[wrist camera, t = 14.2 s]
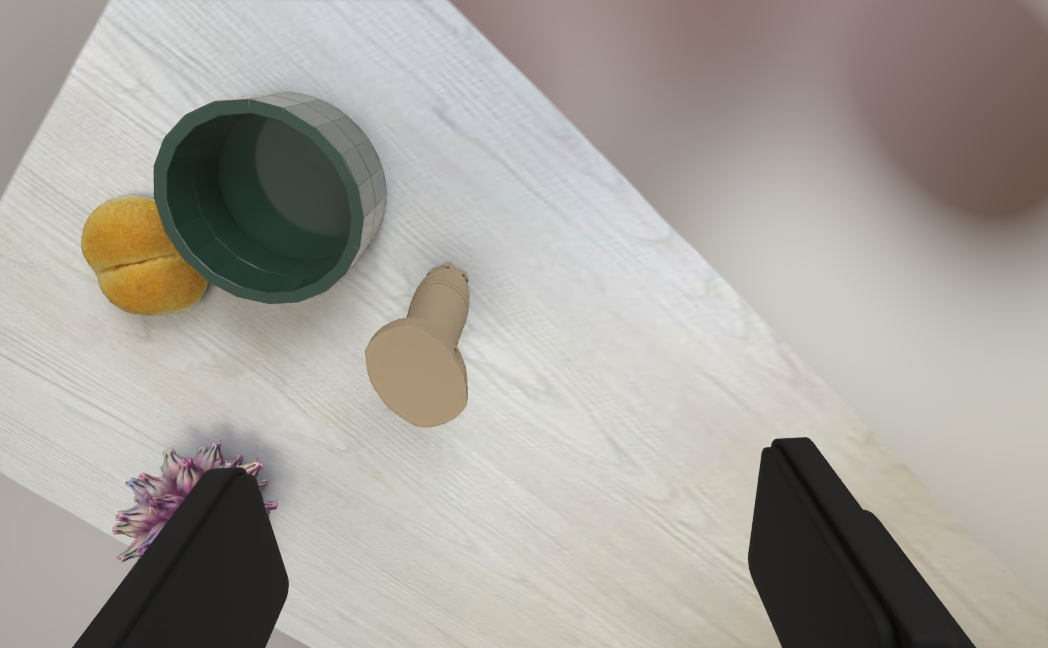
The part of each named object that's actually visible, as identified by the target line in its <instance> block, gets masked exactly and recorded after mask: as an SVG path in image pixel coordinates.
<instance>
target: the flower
mask: <svg viewBox="0 0 1048 648" xmlns="http://www.w3.org/2000/svg"><path fill="white" fill-rule="evenodd" d="M220 446H221V440H220V441H218V442H216V443H215V442H213V443H212V446H211V448H210V449H209V450H208V447H205V446H203V447H200V448H199V450H198V454H197V456H196V457H195V458H194V460H193V461H192V458H188V457H186V458H184V457H182V456H180V455H178V454H176V452H175V451H174V450H173V448H170V449H169V450H166V451H163V455H164V464H163V465H162V467H161V470H162V472H163V477H153V476H150V475H148V474H146V473H144V472H143V474H140V475H139V477H138V479H139V480H138V479H135V478H130V479H131V480H130V481H126V482H125V484H126V485H127V486H128V487H130V488H131V489H133V491H134V493H135V495H136V496H135V502H137V503H139V504H138V505H136V506H134V507H132V508H131V509H129V510H126V511H118V512H117V514H116V515H115V516H116V519H115V520H116V521H123V522H121V523H118V524H114V525H113V529H112V531H113V534H124V535H127V536H129V537H132V538H136V539H135V540H134V541H133V542H132V543H131V545H130V546H129V548H128V549H127V550H126V551H125V552H123V553H122V554H120V555H119V556H118V557H117V558H118V559H119V560H121V562H124V561H126V560H128V559H130V558H134V557H139V559H140V557H141V556H142V555H143V553H144V552H145V551H146V549H147V548H148V547H149V545H150V544H151V543H152V541H153V540H154V539H155V537H156V536H157V535H158V533H159V532H160V531H161V529H162V528H163V527H164V525H165V524H166V523H167V521H168V520H169V519H170V517H171V516H172V515H173V514H174V512H175V511H176V510H177V508H178V507H179V506H180V504H181V503H182V502H183V500H184V499H185V498H186V496H187V495H188V494H189V492H190V491H191V490H192V488H193V487H194V486H195V484H196V483H197V482H198V480H199V479H200V478H201V476H202V475H203V474H204V473H205V472H206V471H207V470H209V469H211V468H230V467H242V468H244V469H245V470H246V472H247V474H251V475H254V476H255V478H256V477H257V474H258V472H259V470H260V469H261V468H262V467H263V466H264V465H263V464H261V463H260V462H259V461H258V458H257V459H255V460H254V461H253V462H251V463H249V464H245V465H241V466H240V463H241V461H242V459H243V457H241V455H236V456H235V458H234V459H233V460H227V461H226V462H225V464H224V465H223V456H222V454H221V451H220ZM257 483H258V486H259V489H260V490H261V489H262V488H263V487H265V486H266V485H267V484H268V482H267V480H266V479H264V480H261V481H257ZM263 501H264V504H265V507H266V511H267V514H268V516H270V515H269V513H270V510H275V509H277V506H278V503H277V501H266V500H263ZM139 559H138V560H139ZM133 567H134V566H133ZM133 567H132V568H133ZM132 568H131V569H132Z"/></svg>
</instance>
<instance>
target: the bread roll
mask: <svg viewBox="0 0 1048 648" xmlns="http://www.w3.org/2000/svg"><path fill="white" fill-rule="evenodd" d="M81 248H82V253H83V255H84V257H85V259H86V261H87V262H88V264H89V265H90V266H91V267H92V269H93V270H94V272H95V273H96V275H97V277H98V281H99V285H100V288H101V290H102V292H103V294H104V295H105V296H106V297H107V298H108V299H109V301H110V302H111V303H113V304H114V305H116V306H117V307H119V308H120V309H122V310H124V311H126V312H130V313H133V314H142V315H151V316H155V315H164V314H171V313H180V312H184V311H188V310H191V309H193V308H195V307H196V306H197V305H198V304H199V302H200V300H201V297H202V296H203V295H204V293H205V291H206V288H207V285H208V281H207V280H206V279H205V278H204V277H203V276H202V275H200V274H199V273H198V272H197V271H196V270H195V269H194V268H193V267H191V266H190V265H189V264H188V263H187V262H186V261H185V260H184V259H183V258H182V257H181V255H180V254H179V252H178V251H177V249H176V248H175V246H174V245H173V243H172V242H171V241H170V239H169V238H168V236H167V235H166V233H165V230H164V228H163V225H162V222H161V219H160V216H159V213H158V210H157V207H156V204H155V200H154V199H151V198H148V197H144V196H138V195H126V196H121V197H117V198H114V199H111V200H108V201H106V202H104V203H103V204H101V205H100V206H98V207H97V208H96V209H95V210H94V211H93V212H92V213H91V215H90V216H89V217H88V219H87V221H86V223H85V225H84V228H83V232H82V239H81Z"/></svg>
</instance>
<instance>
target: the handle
mask: <svg viewBox="0 0 1048 648" xmlns="http://www.w3.org/2000/svg"><path fill="white" fill-rule="evenodd" d="M467 283H468V277H467V274H466V272H465V271H463V270H462V271H461V270H458V269H456V268H455V267H454V266H452V265H451V263H448V262H447V263H444V264H443V265H442V266H441V267H439V268H433V269H431V270H430V271H429V273H428V274H427V276H426V277H425V278H424V279H423V281H422V282H421V283H420V285H419V286H418V288H417V290H416V292H415V294H414V296H413V298H412V301H411V304H410V307H409V311H408V314H407V318H402V319H398V320H396V321H393V322H390V323H389V324H387V325H385V326H383V327H382V328H381V329H380V330H378V331H377V332H376V333H375V335H374V336H373V337H372V339H371V340H370V342H369V344H368V346H367V348H366V350H365V356H366V364H367V371H368V376H369V379H370V382H371V384H372V385H373V387H374V389H375V390H376V392H377V393H378V395H379V396H380V398H381V399H382V401H383V402H384V403H385V404H386V406H387V407H388V408H389V409H390V410H391V411H393V412H394V413H395V414H397V415H398V416H400V417H401V418H403V419H404V420H406V421H408V422H409V423H411V424H413V425H414V426H416V427H434V426H438V425H441V424H444V423H447V422H449V421H451V420H453V419H454V418H456V417H457V416H458V415H460V413H461V412H462V411H463V410H464V408H465V407H466V405H467V399H468V386H467V373H466V366H465V364H464V361H463V359H462V356H461V354H460V351H459V349H458V348H457V344H458V341H459V338H460V336H461V333H462V330H463V328H464V325H465V322H466V319H467V314H468V309H469V289H468V285H467Z"/></svg>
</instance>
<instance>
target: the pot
mask: <svg viewBox="0 0 1048 648" xmlns="http://www.w3.org/2000/svg"><path fill="white" fill-rule="evenodd" d="M154 199H155V204H156V207H157V210H158V213H159V216H160V219H161V222H162V225H163V228H164V230H165V233H166V235H167V236H168V238H169V239H170V241H171V242H172V243H173V245H174V246H175V248H176V249H177V251H178V252H179V254H180V255H181V257H182V258H183V259H184V260H185V261H186V262H187V263H188V264H189V265H190V266H191V267H193V268H194V269H195V270H196V271H197V272H198V273H199V274H200V275H202V276H203V277H204V278H205V279H206V280H207V281H209V282H210V283H212V284H214V285H215V286H217V287H219V288H221V289H223V290H225V291H227V292H229V293H231V294H233V295H235V296H237V297H238V296H239V297H241V298H245V299H250V300H254V301H259V302H263V303H269V304H278V303H295V302H301V301H303V300H306V299H308V298H311V297H313V296H316V295H319V294H321V293H324V292H325V291H327V290H328V289H329V288H330V287H331V286H333V285H334V284H335V283H336V282H337V281H338V280H340V279H341V278H342V277H343V276H344V275H345V274H346V273H347V272H348V271H349V269H350V268H351V267H352V266H353V264H354V263H355V262H356V261H357V259H358V258H359V257H360V255H361V254H362V253H363V252H364V250H365V249H366V248H367V247H368V245H369V244H370V243H371V241H372V239H373V237H374V235H375V234H376V232H377V230H378V228H379V226H380V224H381V222H382V219H383V215H384V211H385V205H386V183H385V177H384V172H383V168H382V165H381V163H380V160H379V157H378V155H377V153H376V151H375V149H374V147H373V145H372V144H371V142H370V141H369V139H368V138H367V136H366V135H365V134H364V132H363V131H362V130H361V129H360V128H359V126H358V125H357V124H356V123H355V122H353V121H352V120H351V119H350V118H349V117H348V116H347V115H345V114H344V113H343V112H341V111H340V110H339V109H337V108H336V107H334V106H332V105H330V104H329V103H327V102H325V101H322V100H320V99H317V98H315V97H312V96H308V95H305V94H300V93H294V92H274V93H261V94H255V95H249V96H242V97H236V98H230V99H224V100H218V101H213V102H211V103H209V104H207V105H205V106H203V107H201V108H198V109H196V110H194V111H192V112H190V113H188V114H186V115H184V117H183V118H182V119H181V120H180V121H179V122H178V123H177V124H176V125H175V126H174V127H173V129H172V130H171V131H170V132H169V133H168V134H167V135H166V136H165V138H164V139H163V142H162V145H161V148H160V150H159V153H158V156H157V159H156V161H155V164H154Z"/></svg>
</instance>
